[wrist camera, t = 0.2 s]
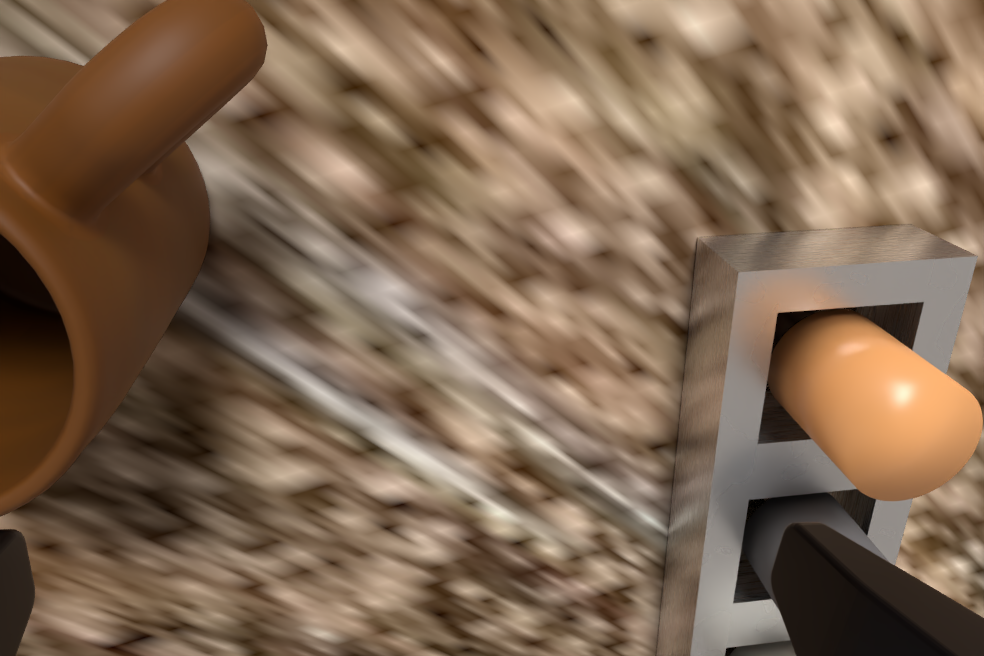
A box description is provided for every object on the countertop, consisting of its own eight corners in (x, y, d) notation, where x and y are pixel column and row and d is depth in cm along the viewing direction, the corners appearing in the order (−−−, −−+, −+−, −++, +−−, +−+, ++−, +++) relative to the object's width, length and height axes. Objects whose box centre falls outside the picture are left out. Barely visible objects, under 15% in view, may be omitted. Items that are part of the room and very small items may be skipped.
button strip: (810, 672, 32) (848, 735, 30) (652, 692, 32) (677, 759, 29) (911, 224, 24) (978, 255, 21) (697, 237, 23) (738, 272, 20)
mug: (178, -146, 17) (-17, -258, 9) (395, 116, 21) (400, 215, 12) (-153, 180, 20) (-565, 338, 11) (90, 374, 23) (-89, 613, 14)
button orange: (868, 408, 24) (963, 494, 20) (759, 418, 24) (834, 507, 20) (891, 304, 22) (999, 375, 18) (775, 313, 22) (860, 387, 18)
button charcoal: (832, 565, 27) (910, 668, 23) (735, 576, 26) (797, 682, 22) (851, 482, 25) (937, 577, 21) (748, 493, 25) (816, 591, 21)
